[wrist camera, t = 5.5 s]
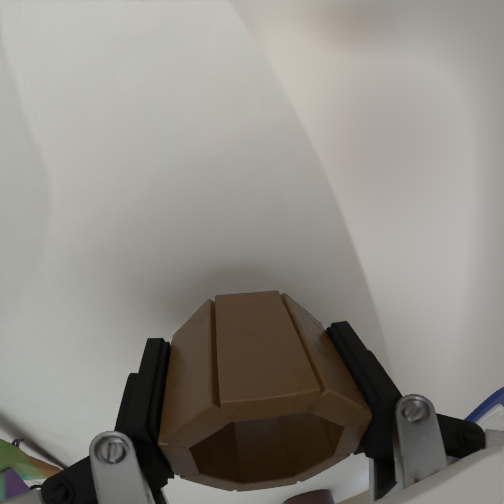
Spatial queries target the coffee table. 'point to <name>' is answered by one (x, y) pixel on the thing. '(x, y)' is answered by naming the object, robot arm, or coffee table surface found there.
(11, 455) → the decorative sculpture
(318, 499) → the ball stand
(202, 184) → the coffee table surface
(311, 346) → the bronze ring
